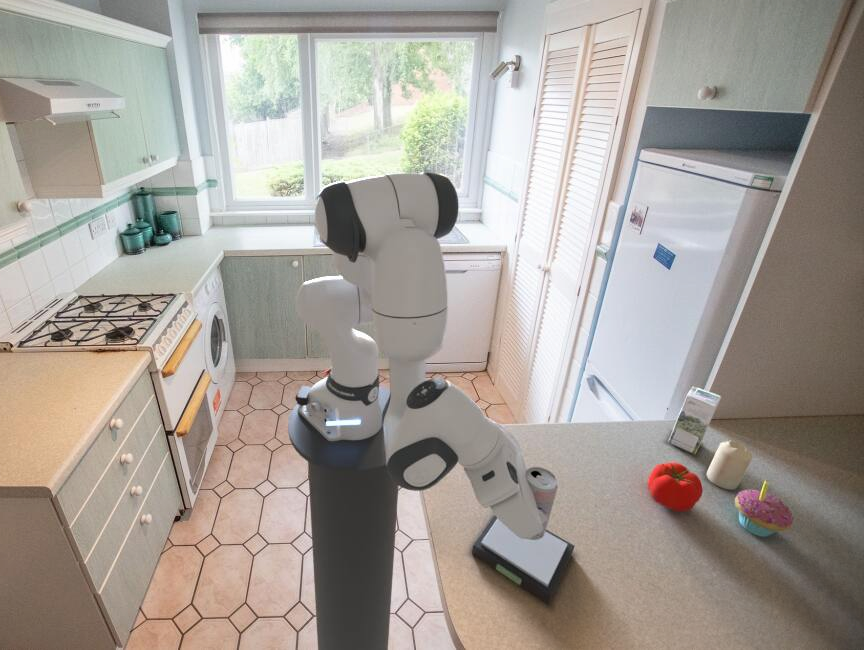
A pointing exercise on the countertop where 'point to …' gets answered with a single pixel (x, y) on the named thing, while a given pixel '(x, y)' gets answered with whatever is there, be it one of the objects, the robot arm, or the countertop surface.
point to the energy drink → (542, 492)
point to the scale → (524, 558)
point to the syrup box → (694, 419)
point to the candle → (729, 464)
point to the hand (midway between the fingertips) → (538, 502)
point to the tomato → (674, 486)
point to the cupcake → (762, 512)
